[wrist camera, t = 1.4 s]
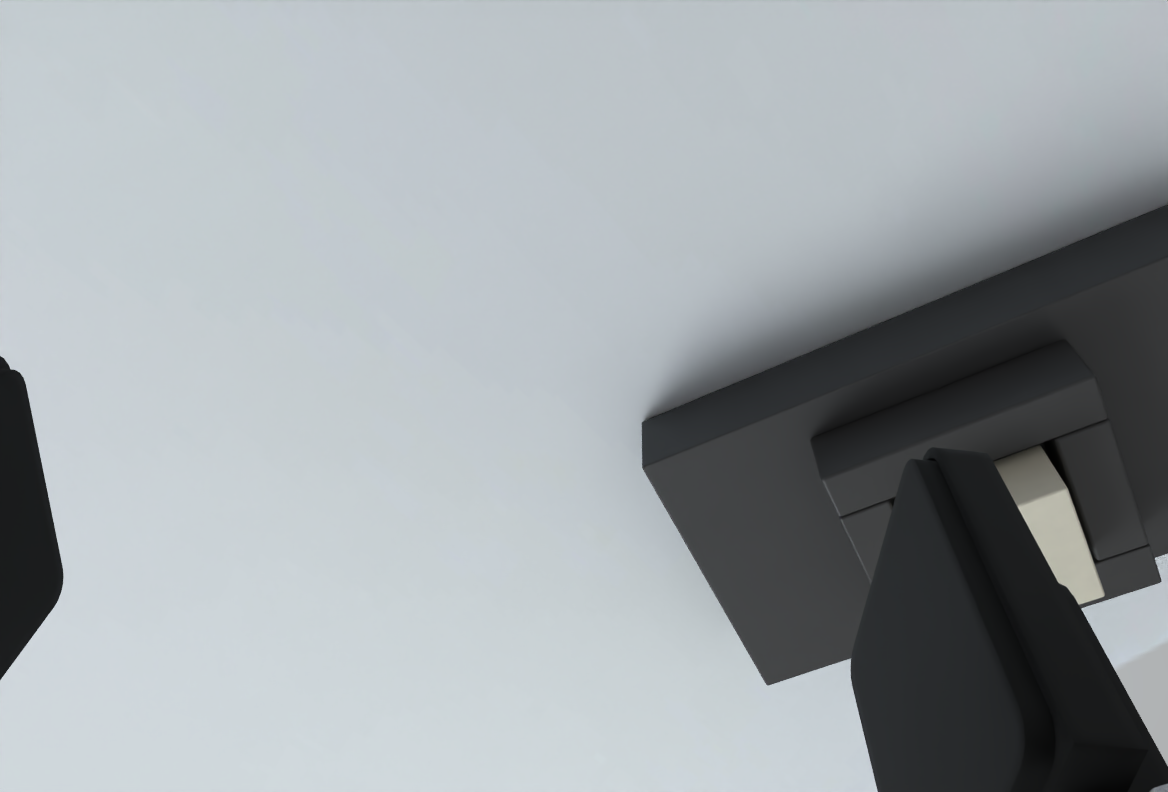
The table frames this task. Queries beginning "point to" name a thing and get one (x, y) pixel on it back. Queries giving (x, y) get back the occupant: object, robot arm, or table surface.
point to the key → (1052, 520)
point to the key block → (927, 438)
